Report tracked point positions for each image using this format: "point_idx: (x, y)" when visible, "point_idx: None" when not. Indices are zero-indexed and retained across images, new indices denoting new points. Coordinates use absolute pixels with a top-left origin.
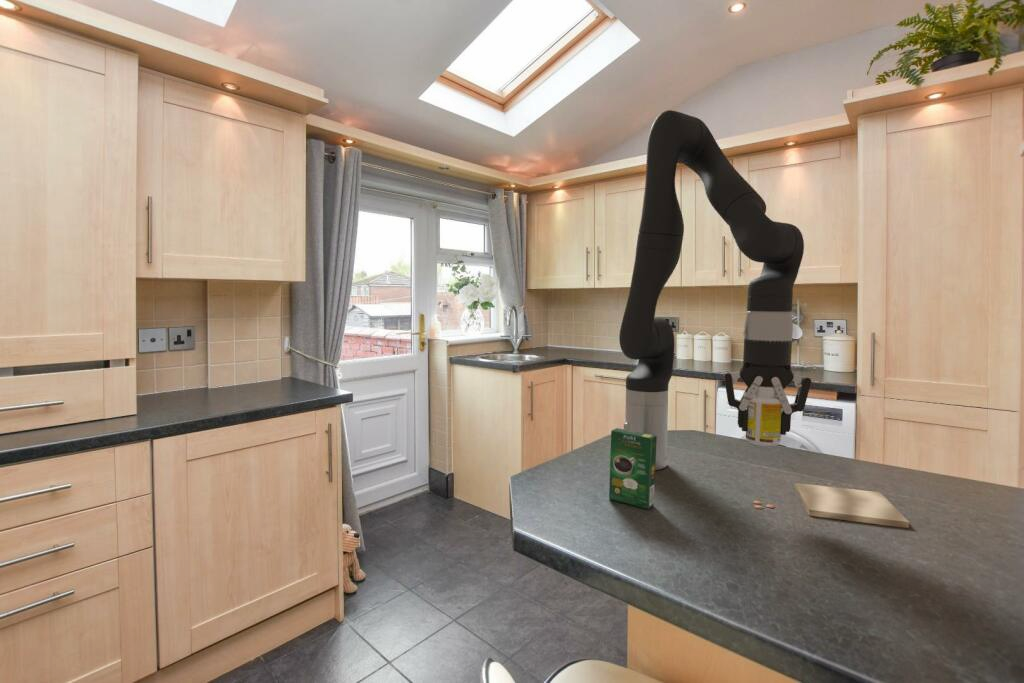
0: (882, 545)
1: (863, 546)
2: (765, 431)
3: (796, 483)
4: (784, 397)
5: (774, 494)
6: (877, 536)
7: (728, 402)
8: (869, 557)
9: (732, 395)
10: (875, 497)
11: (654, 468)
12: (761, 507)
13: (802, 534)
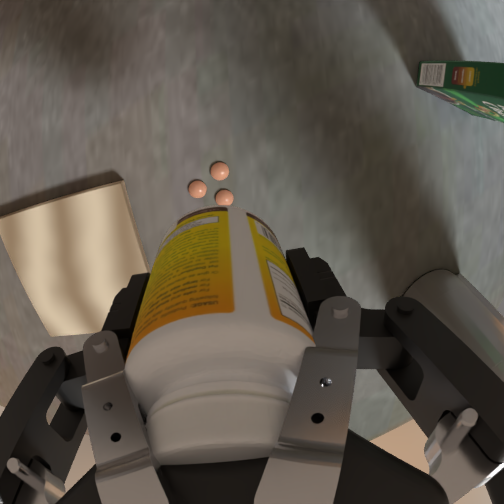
0: (21, 112)
1: (43, 85)
2: (204, 225)
3: None
4: (94, 392)
5: None
6: (26, 148)
7: (422, 306)
8: (40, 46)
9: (426, 341)
10: (47, 310)
11: (467, 85)
12: (213, 169)
13: (131, 69)
